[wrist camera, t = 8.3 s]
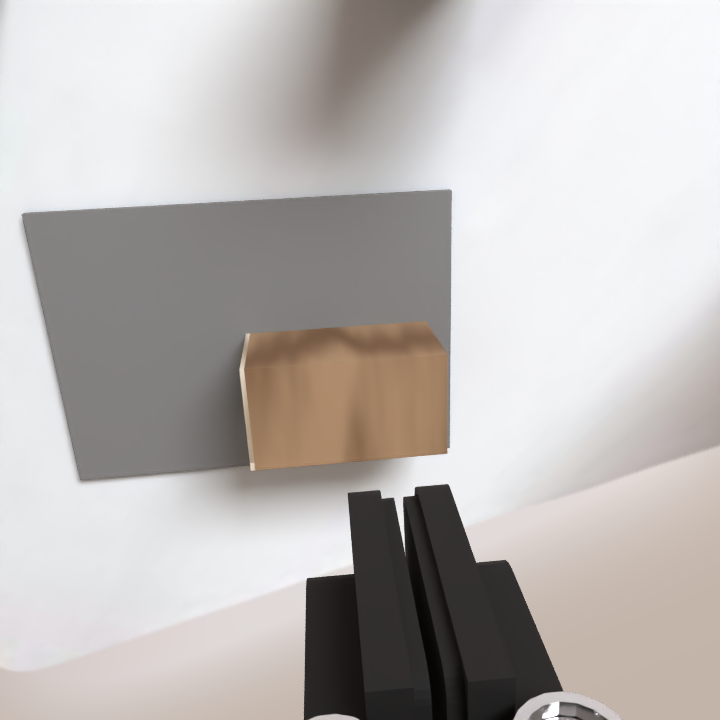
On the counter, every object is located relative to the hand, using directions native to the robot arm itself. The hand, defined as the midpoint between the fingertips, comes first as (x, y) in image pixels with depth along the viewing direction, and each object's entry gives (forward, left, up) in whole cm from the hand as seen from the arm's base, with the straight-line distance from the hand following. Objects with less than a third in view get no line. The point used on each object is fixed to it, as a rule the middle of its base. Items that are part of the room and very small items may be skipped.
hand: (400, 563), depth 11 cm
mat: (+4, +4, -24) cm, 24 cm away
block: (+4, +6, -21) cm, 22 cm away
